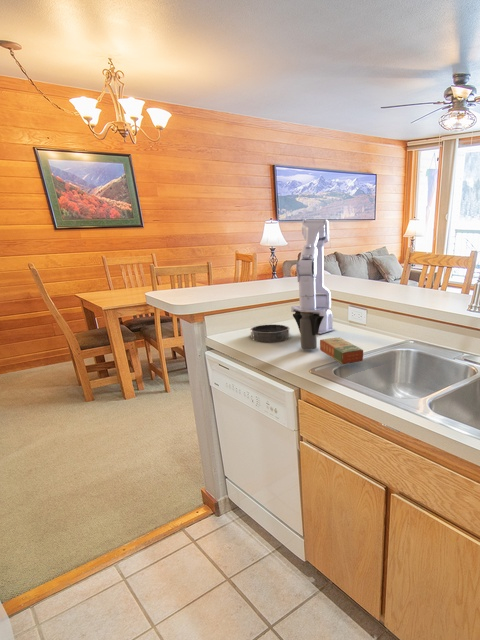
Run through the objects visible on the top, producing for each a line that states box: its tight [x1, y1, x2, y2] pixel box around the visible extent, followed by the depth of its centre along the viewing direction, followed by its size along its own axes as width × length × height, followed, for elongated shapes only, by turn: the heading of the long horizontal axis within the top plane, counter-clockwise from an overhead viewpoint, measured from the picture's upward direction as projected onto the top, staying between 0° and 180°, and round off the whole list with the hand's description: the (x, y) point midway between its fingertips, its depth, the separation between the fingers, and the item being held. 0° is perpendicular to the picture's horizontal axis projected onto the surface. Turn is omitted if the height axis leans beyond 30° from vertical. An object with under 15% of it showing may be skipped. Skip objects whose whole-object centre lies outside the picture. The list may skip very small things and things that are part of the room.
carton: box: [319, 336, 364, 365], centre depth 140 cm, size 8×16×4 cm, turn 30°
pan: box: [250, 324, 291, 344], centre depth 165 cm, size 15×15×4 cm
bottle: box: [299, 312, 318, 351], centre depth 149 cm, size 6×6×15 cm
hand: (308, 333), depth 150 cm, fingers closed on bottle, 6 cm apart
